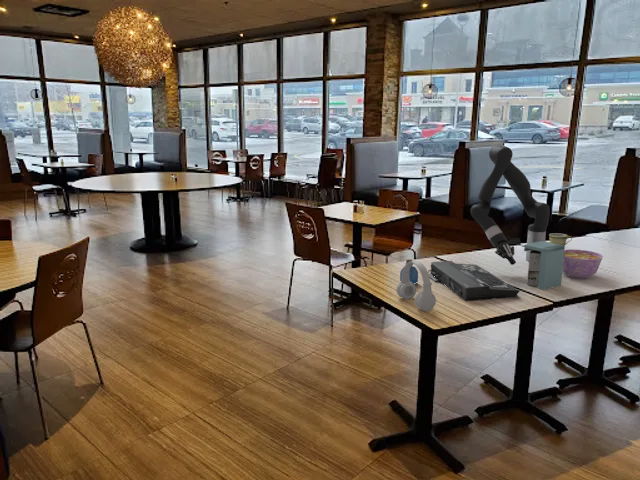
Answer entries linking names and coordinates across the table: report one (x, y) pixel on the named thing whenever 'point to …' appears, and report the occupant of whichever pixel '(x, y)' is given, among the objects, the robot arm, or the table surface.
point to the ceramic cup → (558, 238)
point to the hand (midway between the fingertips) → (513, 263)
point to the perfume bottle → (411, 273)
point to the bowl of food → (581, 263)
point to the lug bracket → (548, 263)
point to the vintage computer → (471, 281)
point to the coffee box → (534, 267)
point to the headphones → (408, 289)
